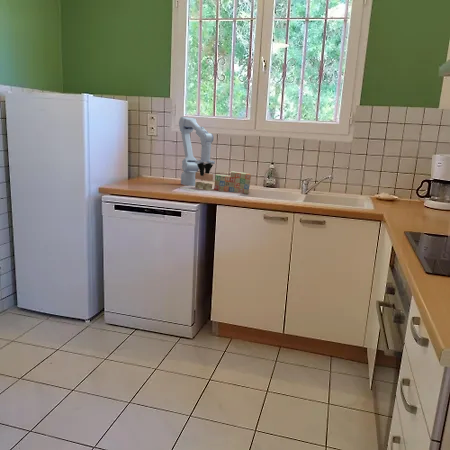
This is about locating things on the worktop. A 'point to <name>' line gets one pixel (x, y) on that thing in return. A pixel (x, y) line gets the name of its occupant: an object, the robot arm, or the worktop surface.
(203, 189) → the blueprint board
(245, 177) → the stack of blocks
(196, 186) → the pillar
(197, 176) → the beam
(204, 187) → the pillar
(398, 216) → the worktop surface
